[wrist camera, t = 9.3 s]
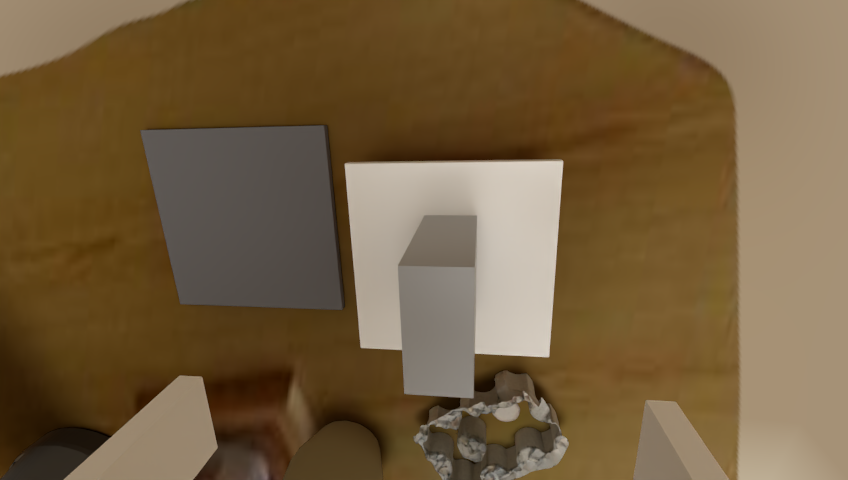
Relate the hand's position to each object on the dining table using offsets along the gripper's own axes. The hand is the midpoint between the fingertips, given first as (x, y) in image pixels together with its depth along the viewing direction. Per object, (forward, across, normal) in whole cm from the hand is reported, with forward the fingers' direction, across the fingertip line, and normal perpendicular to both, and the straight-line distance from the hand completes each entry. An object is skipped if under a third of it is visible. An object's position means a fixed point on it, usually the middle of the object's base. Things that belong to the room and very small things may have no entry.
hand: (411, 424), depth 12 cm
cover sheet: (+14, 0, 0) cm, 14 cm away
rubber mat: (+19, +15, -1) cm, 24 cm away
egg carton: (+19, -3, +16) cm, 25 cm away
